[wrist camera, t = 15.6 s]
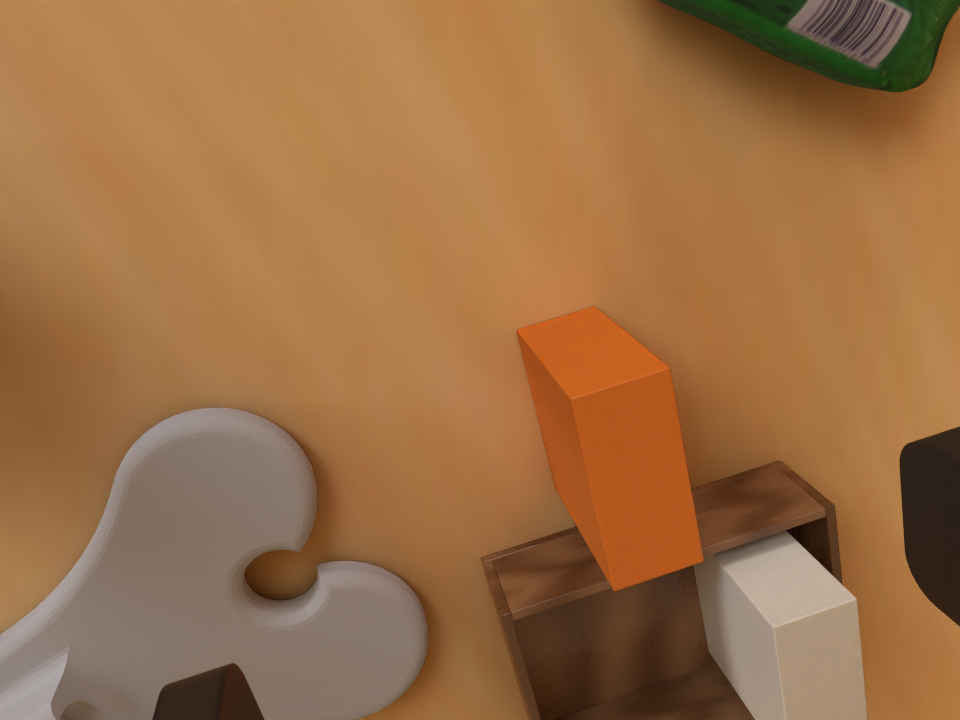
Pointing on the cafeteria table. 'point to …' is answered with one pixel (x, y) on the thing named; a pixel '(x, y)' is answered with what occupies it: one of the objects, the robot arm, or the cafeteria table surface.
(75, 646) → the holder
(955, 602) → the robot arm
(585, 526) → the block
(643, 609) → the brown wooden tray
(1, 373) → the cafeteria table surface
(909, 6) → the snack package
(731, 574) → the block
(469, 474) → the cafeteria table surface
